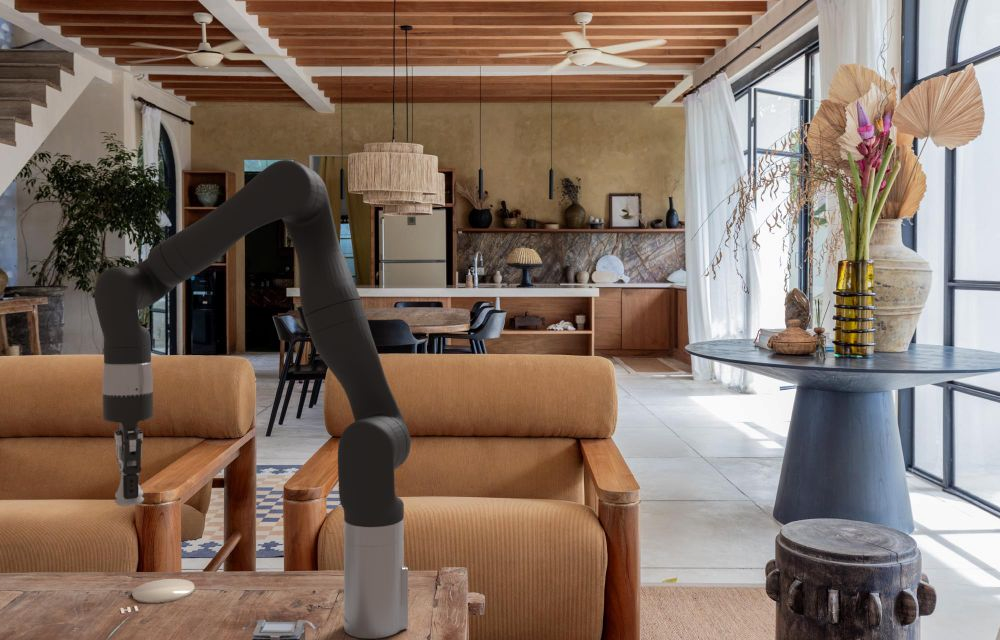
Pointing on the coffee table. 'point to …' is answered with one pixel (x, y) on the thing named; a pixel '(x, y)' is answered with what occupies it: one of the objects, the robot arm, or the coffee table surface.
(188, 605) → the coffee table surface
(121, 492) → the rook chess piece
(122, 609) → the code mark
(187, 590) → the cream round disc
